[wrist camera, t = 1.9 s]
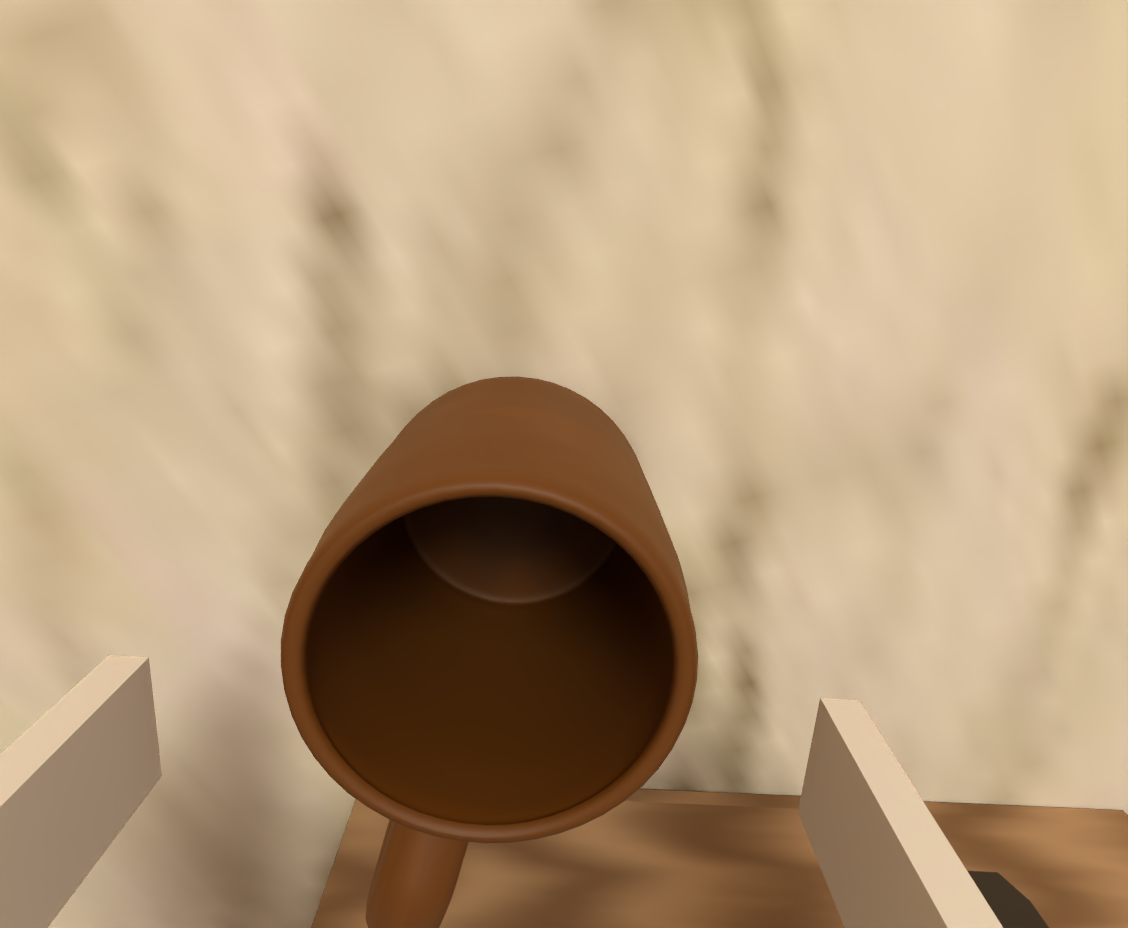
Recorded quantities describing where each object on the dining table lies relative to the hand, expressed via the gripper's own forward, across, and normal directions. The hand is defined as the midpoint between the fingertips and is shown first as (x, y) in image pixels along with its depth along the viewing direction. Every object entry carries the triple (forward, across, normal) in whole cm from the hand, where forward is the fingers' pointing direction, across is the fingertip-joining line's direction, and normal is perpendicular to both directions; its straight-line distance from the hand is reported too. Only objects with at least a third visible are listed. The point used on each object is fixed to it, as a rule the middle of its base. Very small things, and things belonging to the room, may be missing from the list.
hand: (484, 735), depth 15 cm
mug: (+8, -1, 0) cm, 8 cm away
